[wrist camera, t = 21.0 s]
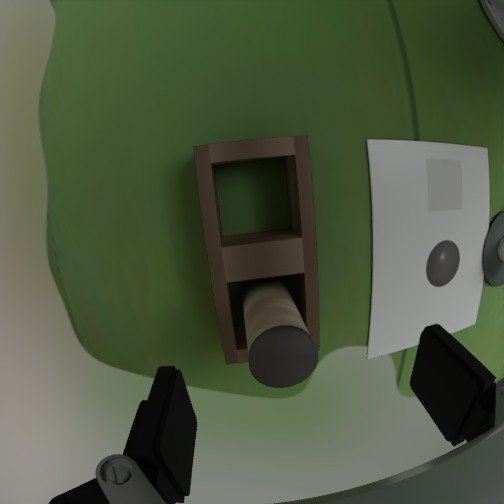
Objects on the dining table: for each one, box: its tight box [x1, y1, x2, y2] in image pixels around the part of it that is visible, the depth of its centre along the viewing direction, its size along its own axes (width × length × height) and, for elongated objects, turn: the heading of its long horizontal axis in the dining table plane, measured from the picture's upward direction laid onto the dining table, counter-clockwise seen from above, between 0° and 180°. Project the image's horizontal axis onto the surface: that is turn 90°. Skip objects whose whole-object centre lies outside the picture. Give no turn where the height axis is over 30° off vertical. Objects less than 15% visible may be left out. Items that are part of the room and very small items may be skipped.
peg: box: [242, 276, 318, 388], centre depth 16 cm, size 3×3×8 cm
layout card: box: [367, 140, 490, 359], centre depth 20 cm, size 13×17×1 cm
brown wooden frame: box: [193, 135, 320, 364], centre depth 18 cm, size 6×13×3 cm, turn 6°
